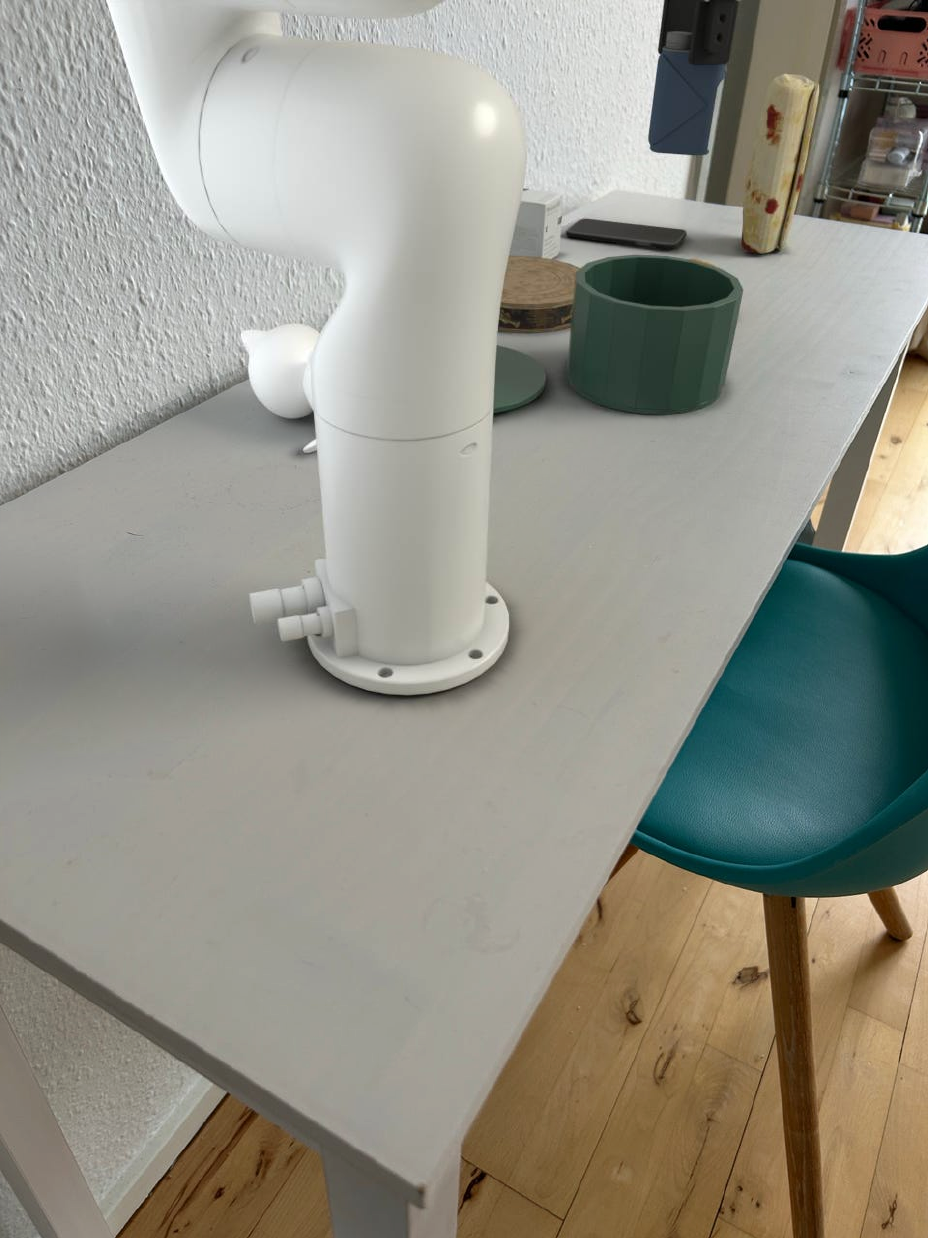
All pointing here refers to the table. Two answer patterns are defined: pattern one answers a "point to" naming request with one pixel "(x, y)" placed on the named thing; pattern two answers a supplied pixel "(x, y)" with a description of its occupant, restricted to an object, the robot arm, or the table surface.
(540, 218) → the white cardboard box
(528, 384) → the tin lid
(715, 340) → the waste tin
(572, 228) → the smartphone
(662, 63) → the vaping device
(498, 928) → the table surface
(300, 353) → the cat figurine
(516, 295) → the round wooden disc
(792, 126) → the food model
